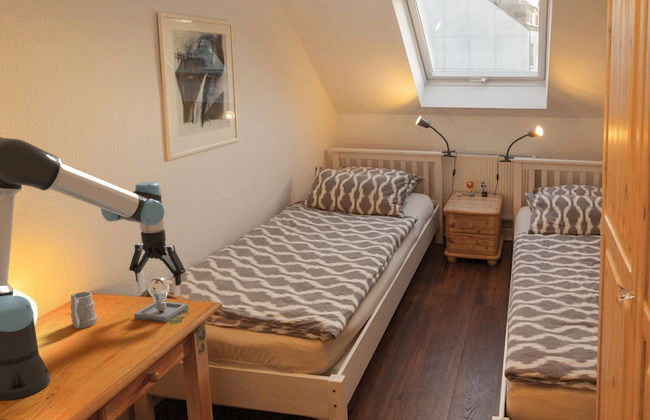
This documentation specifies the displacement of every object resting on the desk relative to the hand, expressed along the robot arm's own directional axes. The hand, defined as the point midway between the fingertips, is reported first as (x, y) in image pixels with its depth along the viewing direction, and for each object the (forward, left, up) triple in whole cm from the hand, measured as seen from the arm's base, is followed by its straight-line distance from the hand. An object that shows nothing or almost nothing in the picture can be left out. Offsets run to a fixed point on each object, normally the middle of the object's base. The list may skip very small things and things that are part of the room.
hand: (159, 293), depth 228 cm
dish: (0, 0, -7) cm, 7 cm away
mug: (-16, +19, -7) cm, 26 cm away
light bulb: (0, 0, -7) cm, 7 cm away
